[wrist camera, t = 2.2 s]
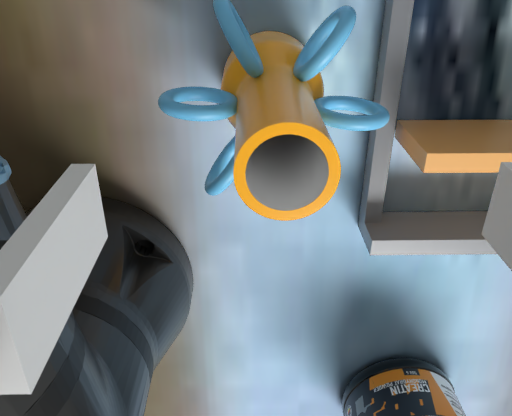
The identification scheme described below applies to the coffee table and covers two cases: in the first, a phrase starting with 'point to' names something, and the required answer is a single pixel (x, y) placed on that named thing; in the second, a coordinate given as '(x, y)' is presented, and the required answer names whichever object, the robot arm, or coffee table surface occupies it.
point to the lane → (378, 160)
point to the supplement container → (401, 391)
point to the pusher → (456, 144)
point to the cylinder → (277, 115)
